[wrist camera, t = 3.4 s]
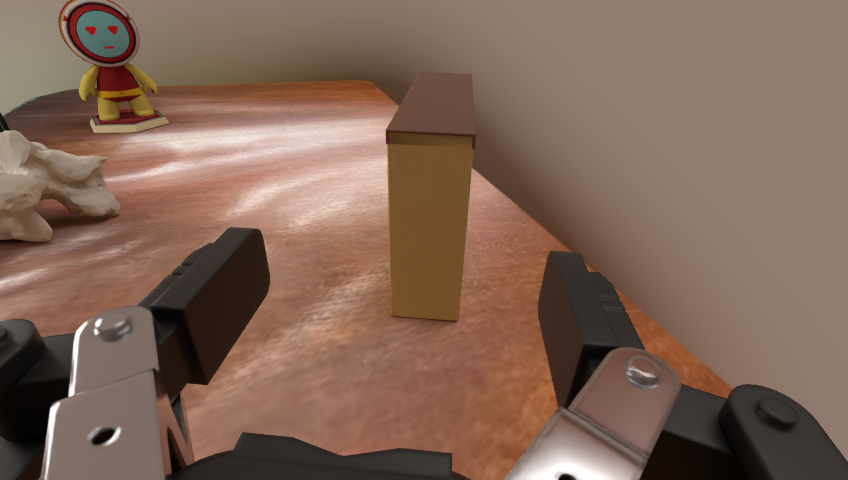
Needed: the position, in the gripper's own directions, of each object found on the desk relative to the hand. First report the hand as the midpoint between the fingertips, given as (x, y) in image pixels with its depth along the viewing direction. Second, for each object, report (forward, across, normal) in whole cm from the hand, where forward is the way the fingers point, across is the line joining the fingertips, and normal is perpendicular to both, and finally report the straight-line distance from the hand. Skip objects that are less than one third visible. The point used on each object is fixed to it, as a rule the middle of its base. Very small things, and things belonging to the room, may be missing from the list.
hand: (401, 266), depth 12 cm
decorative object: (+16, +31, +10) cm, 36 cm away
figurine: (+44, +43, +10) cm, 62 cm away
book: (+17, 0, +10) cm, 20 cm away
